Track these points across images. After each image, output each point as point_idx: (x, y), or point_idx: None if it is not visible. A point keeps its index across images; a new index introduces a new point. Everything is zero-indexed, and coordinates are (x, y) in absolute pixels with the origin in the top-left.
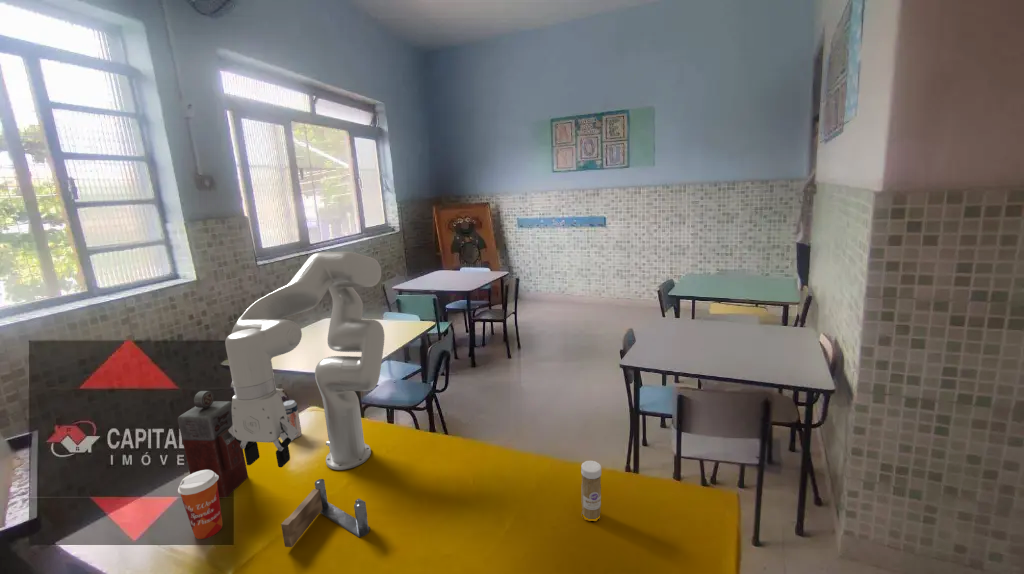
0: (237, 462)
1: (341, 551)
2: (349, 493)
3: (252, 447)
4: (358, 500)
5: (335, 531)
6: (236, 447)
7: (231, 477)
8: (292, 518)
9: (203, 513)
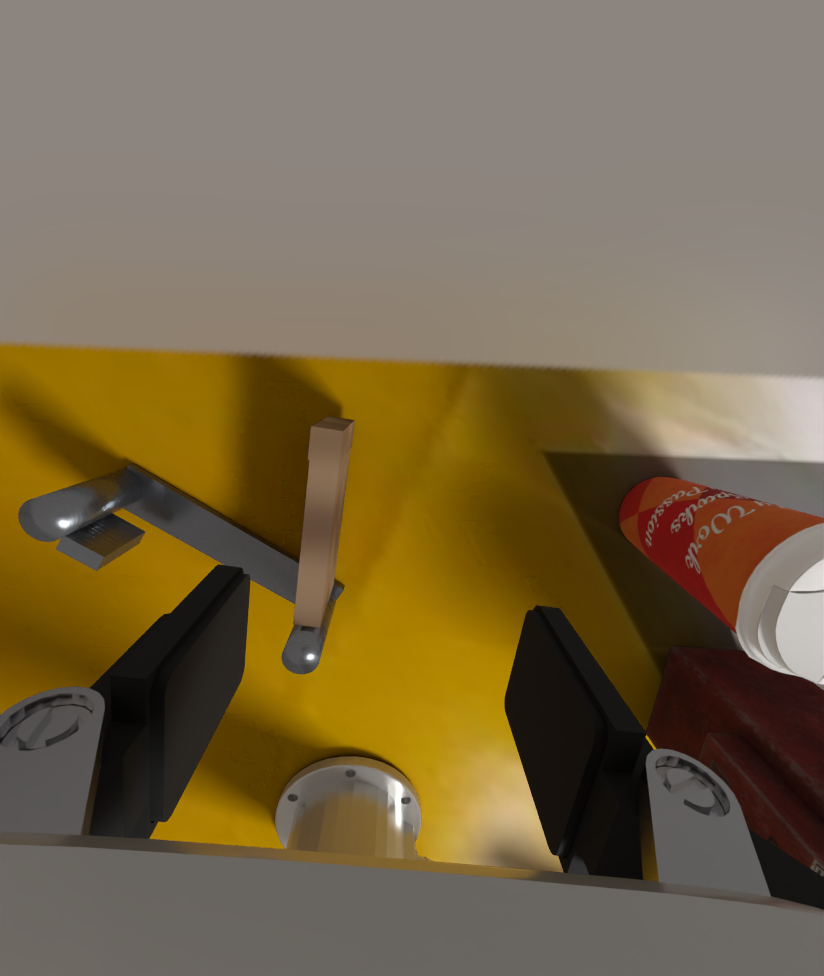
0: None
1: (165, 407)
2: (267, 654)
3: (567, 780)
4: (90, 558)
5: (230, 493)
6: None
7: (694, 714)
8: (317, 467)
9: (701, 505)
